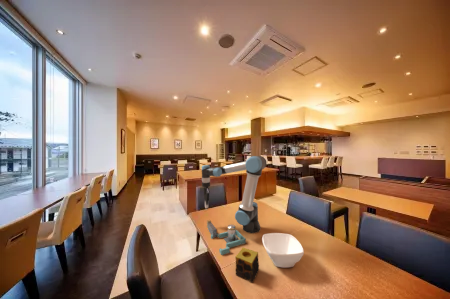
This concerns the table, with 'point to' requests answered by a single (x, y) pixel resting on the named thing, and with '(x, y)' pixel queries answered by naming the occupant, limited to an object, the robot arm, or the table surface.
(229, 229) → the spigot
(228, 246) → the dock cradle
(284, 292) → the table surface
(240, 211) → the robot arm
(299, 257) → the bowl
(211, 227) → the lock pin
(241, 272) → the candle
